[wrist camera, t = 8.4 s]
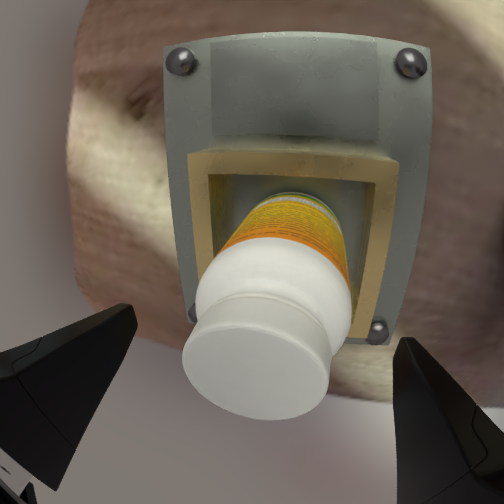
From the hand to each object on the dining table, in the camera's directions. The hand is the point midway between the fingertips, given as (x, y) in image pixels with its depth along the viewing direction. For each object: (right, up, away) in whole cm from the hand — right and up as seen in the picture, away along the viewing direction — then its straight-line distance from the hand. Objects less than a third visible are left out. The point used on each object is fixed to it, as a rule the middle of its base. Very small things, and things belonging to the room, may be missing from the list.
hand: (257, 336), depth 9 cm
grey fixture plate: (+3, +6, +9) cm, 11 cm away
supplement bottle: (+2, +3, +7) cm, 8 cm away
